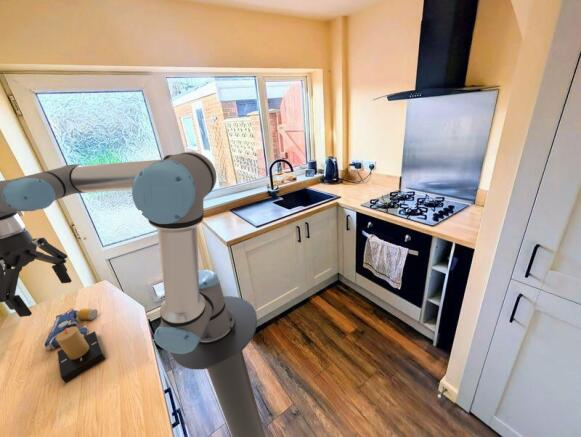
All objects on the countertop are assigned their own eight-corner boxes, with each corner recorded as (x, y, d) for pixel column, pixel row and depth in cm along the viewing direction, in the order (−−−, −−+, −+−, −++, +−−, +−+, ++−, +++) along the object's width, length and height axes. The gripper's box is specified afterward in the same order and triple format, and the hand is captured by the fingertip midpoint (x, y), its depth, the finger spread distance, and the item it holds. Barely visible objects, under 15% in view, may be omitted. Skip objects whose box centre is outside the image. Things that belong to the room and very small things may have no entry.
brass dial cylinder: (90, 351, 84) (78, 331, 80) (70, 362, 81) (56, 343, 77) (87, 341, 88) (75, 323, 84) (68, 353, 84) (54, 333, 80)
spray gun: (102, 304, 110) (61, 319, 104) (97, 297, 108) (55, 311, 103) (93, 338, 93) (43, 358, 88) (88, 331, 91) (37, 350, 86)
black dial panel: (106, 358, 84) (102, 352, 83) (65, 383, 77) (60, 377, 76) (98, 336, 93) (94, 330, 92) (61, 357, 87) (57, 351, 85)
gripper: (36, 215, 74) (69, 272, 83) (-72, 263, 52) (-11, 334, 60) (60, 213, 74) (91, 270, 83) (-37, 259, 52) (19, 331, 60)
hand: (48, 297), depth 72 cm, fingers open, 13 cm apart
